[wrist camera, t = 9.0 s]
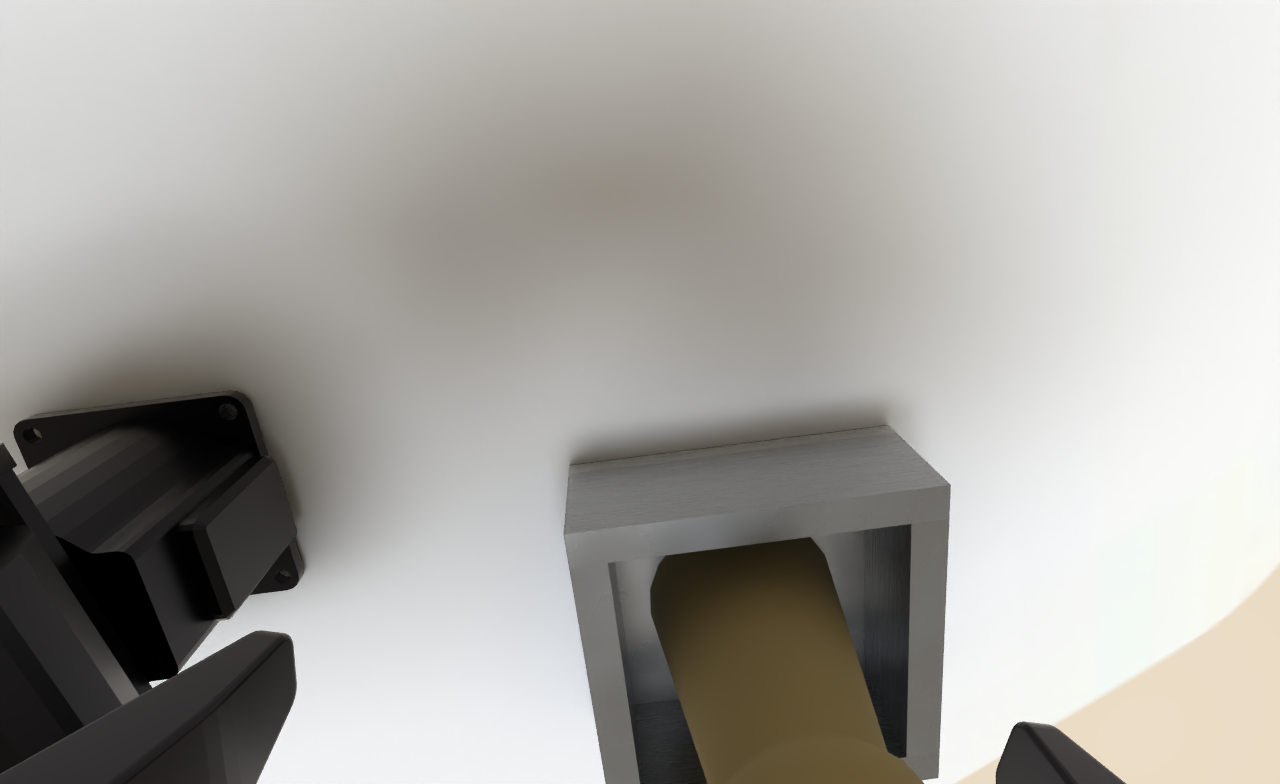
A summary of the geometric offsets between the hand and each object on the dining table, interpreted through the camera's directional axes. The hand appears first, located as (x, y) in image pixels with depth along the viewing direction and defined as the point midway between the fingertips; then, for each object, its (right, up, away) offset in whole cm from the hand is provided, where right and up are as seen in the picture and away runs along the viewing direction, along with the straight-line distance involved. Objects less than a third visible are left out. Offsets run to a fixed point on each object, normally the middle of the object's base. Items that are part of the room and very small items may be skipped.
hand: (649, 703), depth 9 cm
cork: (+3, -3, +14) cm, 15 cm away
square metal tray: (+3, -3, +15) cm, 15 cm away
